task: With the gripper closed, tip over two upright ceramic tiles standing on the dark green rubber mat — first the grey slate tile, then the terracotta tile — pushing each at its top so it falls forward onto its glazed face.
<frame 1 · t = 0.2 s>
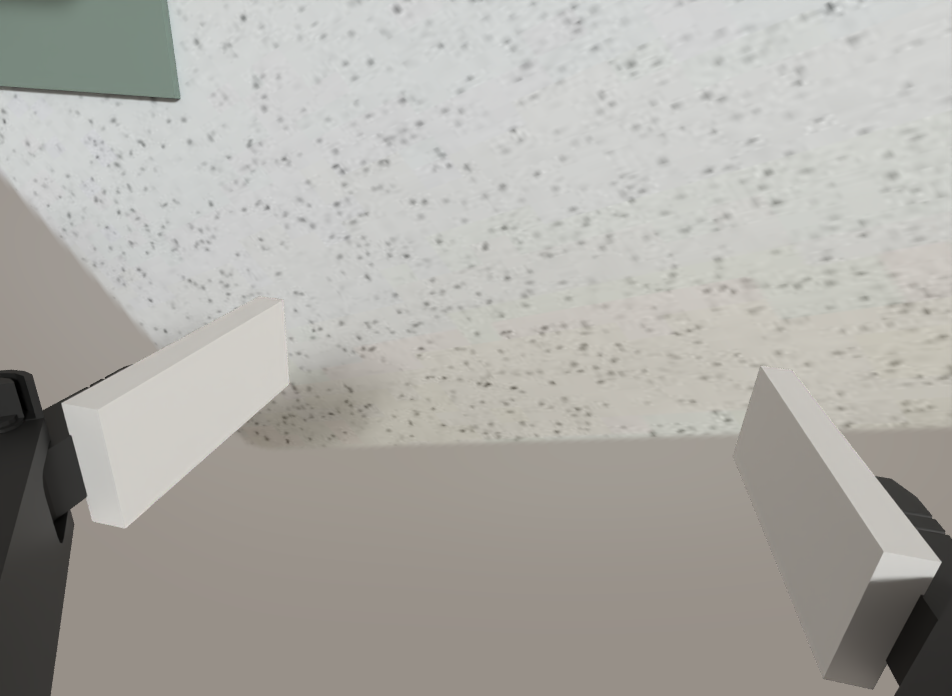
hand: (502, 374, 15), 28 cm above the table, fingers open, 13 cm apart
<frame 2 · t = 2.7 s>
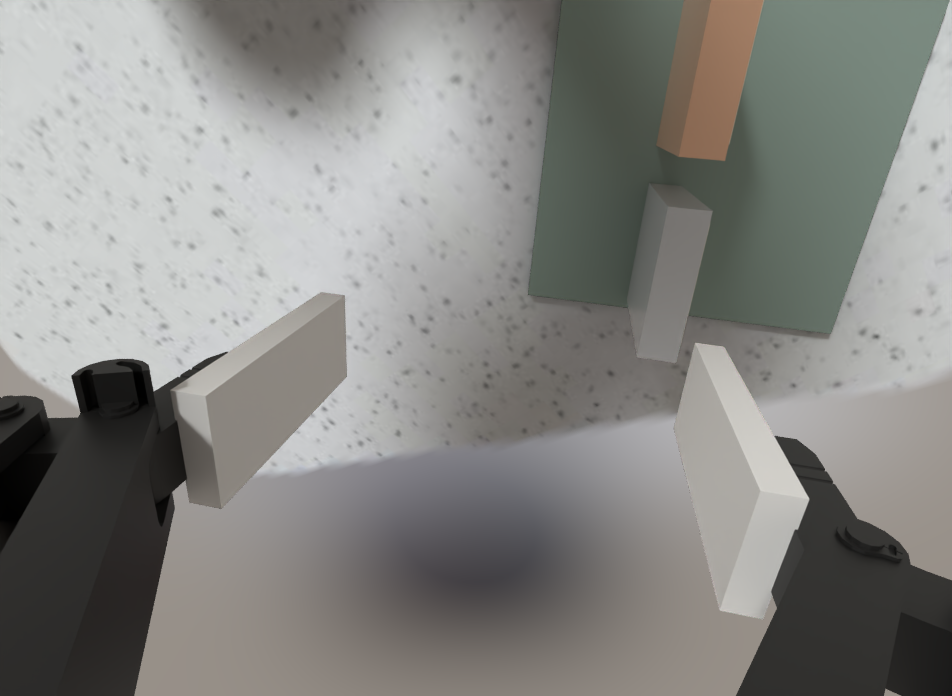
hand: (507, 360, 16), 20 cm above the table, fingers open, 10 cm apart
mat: (704, 168, 31), on the table
slate tile: (652, 245, 33), point 1 cm above the table, touching mat
terracotta tile: (687, 76, 29), point 1 cm above the table, touching mat
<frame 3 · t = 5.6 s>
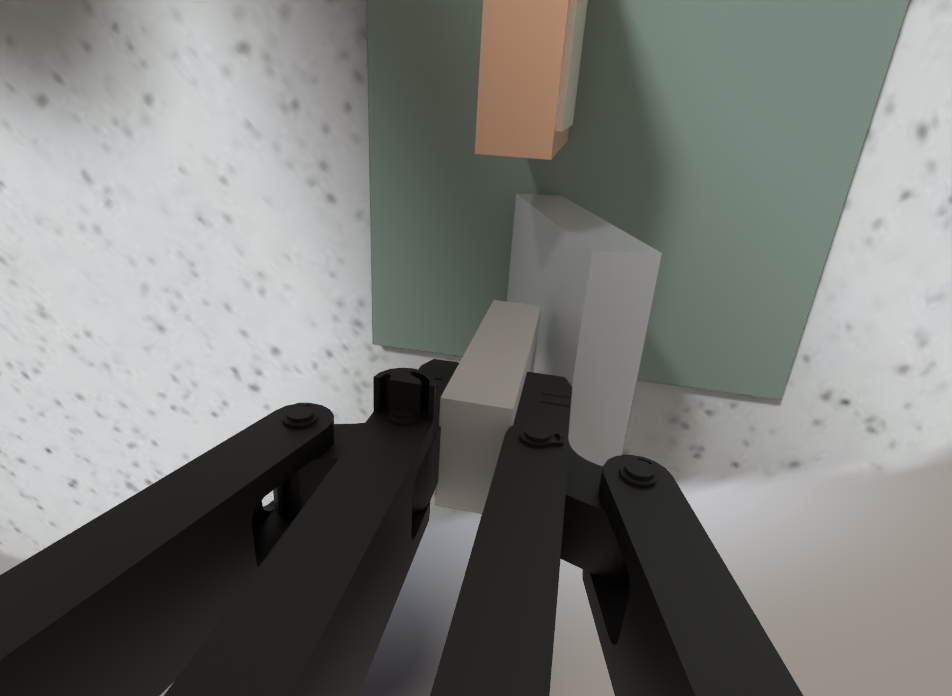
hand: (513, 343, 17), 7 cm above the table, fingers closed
mat: (593, 169, 22), on the table
slate tile: (529, 280, 23), point 1 cm above the table, tilted 19°, touching mat
terracotta tile: (554, 34, 20), point 1 cm above the table, touching mat
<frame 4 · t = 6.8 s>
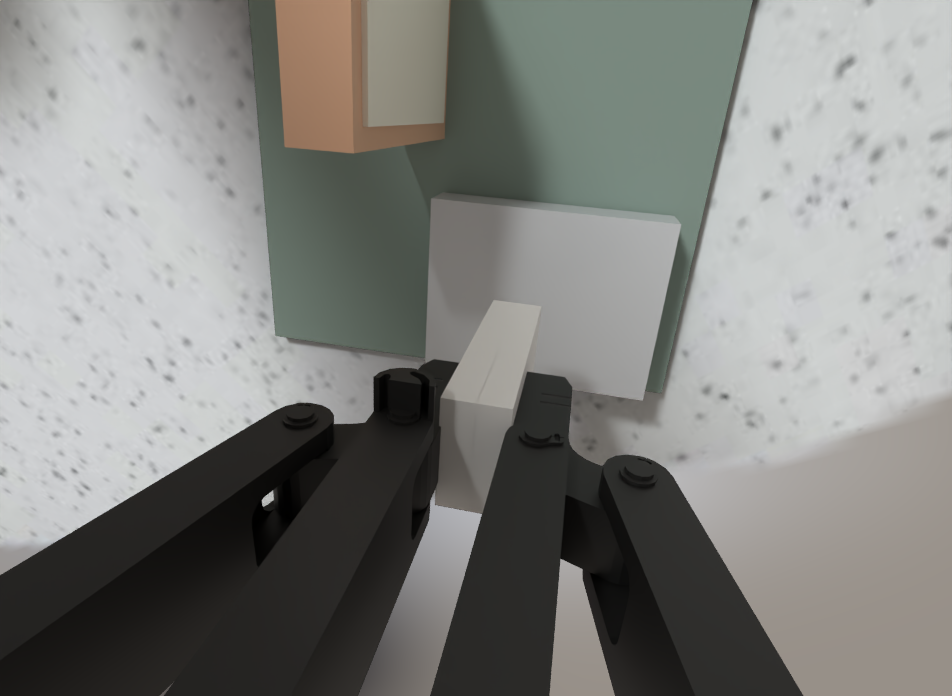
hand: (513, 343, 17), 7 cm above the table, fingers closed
mat: (473, 167, 22), on the table
slate tile: (433, 282, 23), point 2 cm above the table, tilted 90°, touching mat
terracotta tile: (425, 35, 20), point 1 cm above the table, touching mat
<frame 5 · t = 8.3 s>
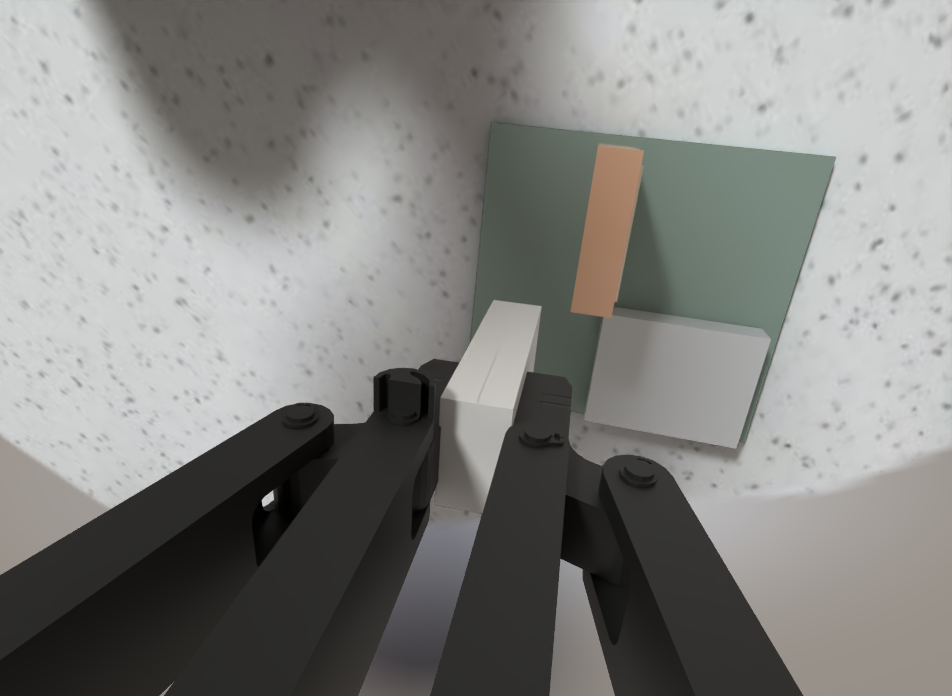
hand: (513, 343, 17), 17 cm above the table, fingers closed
mat: (624, 288, 33), on the table
slate tile: (593, 363, 34), point 2 cm above the table, tilted 90°, touching mat
terracotta tile: (604, 210, 31), point 1 cm above the table, touching mat
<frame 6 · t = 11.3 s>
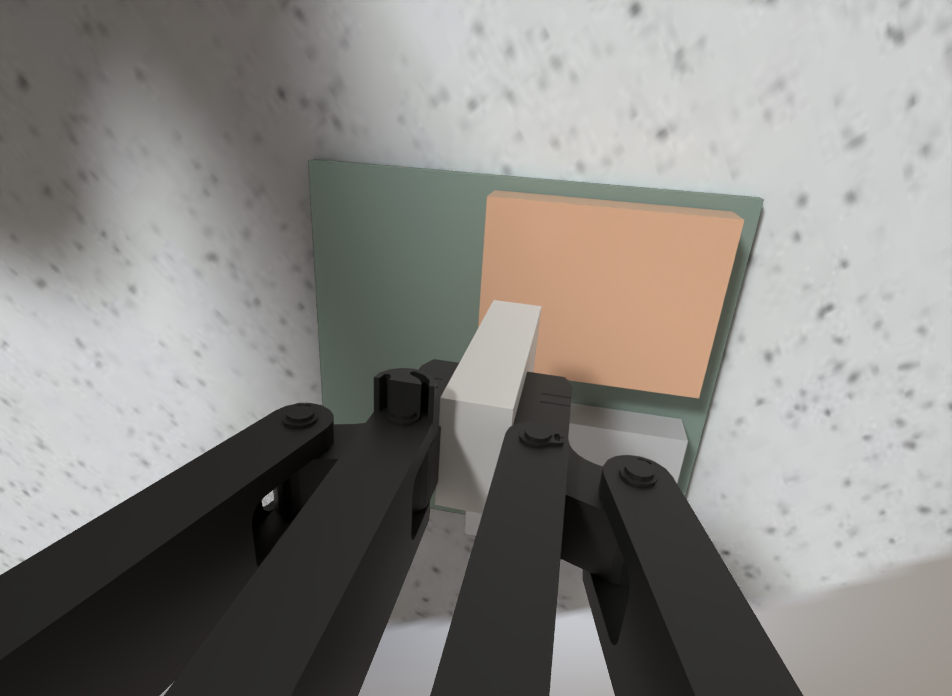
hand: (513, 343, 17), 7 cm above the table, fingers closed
mat: (506, 366, 26), on the table
slate tile: (472, 463, 26), point 2 cm above the table, tilted 90°, touching mat
terracotta tile: (484, 281, 23), point 2 cm above the table, tilted 90°, touching mat
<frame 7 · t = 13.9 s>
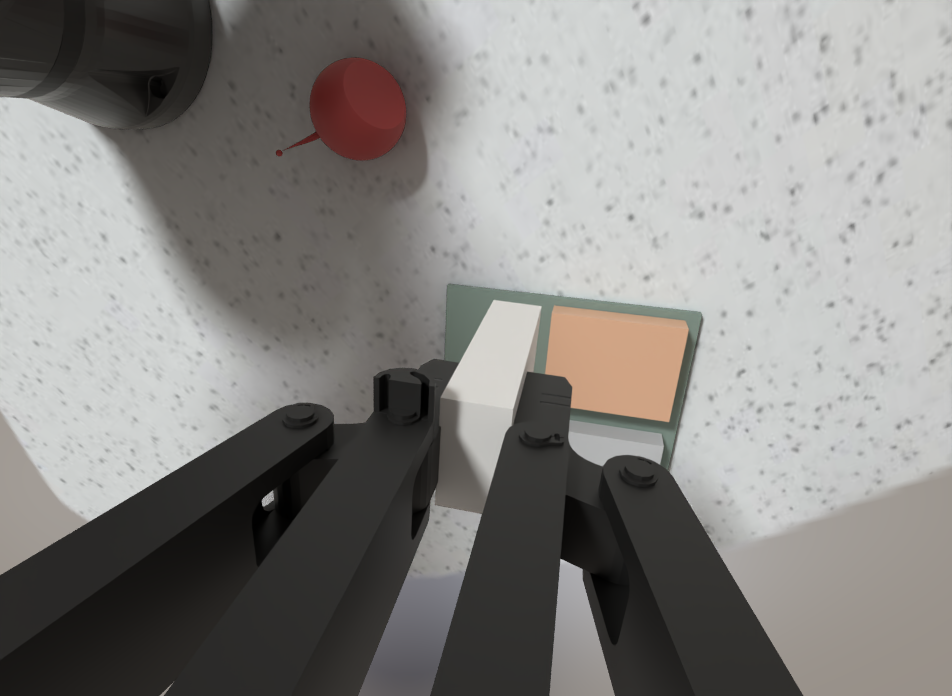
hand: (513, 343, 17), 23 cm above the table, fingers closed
mat: (557, 401, 43), on the table
fruit: (359, 120, 39), on the table
slate tile: (536, 460, 43), point 2 cm above the table, tilted 90°, touching mat
terracotta tile: (547, 355, 40), point 2 cm above the table, tilted 90°, touching mat
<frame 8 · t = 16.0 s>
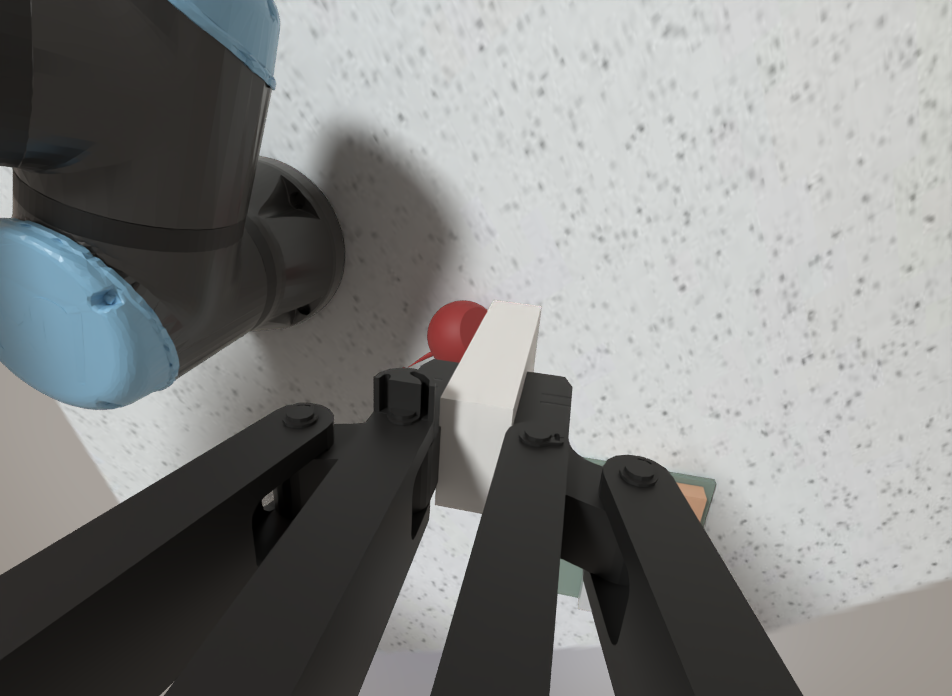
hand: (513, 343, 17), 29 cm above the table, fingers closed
mat: (600, 533, 55), on the table
fruit: (457, 330, 50), on the table
terracotta tile: (597, 505, 52), point 2 cm above the table, tilted 90°, touching mat
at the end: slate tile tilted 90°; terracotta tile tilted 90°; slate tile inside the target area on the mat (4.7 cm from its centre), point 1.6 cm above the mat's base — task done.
